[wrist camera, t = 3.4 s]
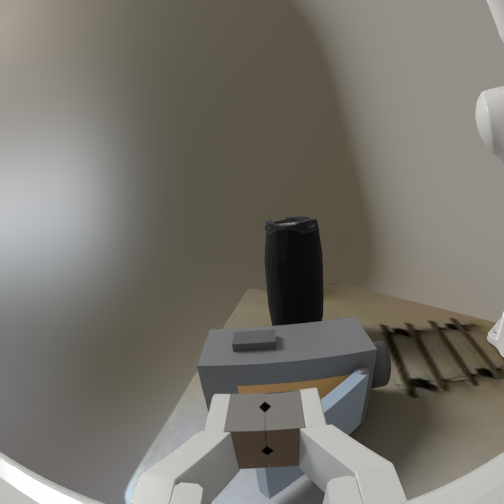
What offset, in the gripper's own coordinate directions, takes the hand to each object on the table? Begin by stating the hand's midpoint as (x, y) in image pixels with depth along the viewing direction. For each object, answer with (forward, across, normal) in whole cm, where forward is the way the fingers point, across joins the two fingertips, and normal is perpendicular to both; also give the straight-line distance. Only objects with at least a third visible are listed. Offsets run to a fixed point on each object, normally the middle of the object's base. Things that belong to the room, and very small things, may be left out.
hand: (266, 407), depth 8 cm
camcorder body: (+17, -3, +18) cm, 25 cm away
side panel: (+9, -4, +17) cm, 19 cm away
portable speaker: (+36, -4, +18) cm, 40 cm away
